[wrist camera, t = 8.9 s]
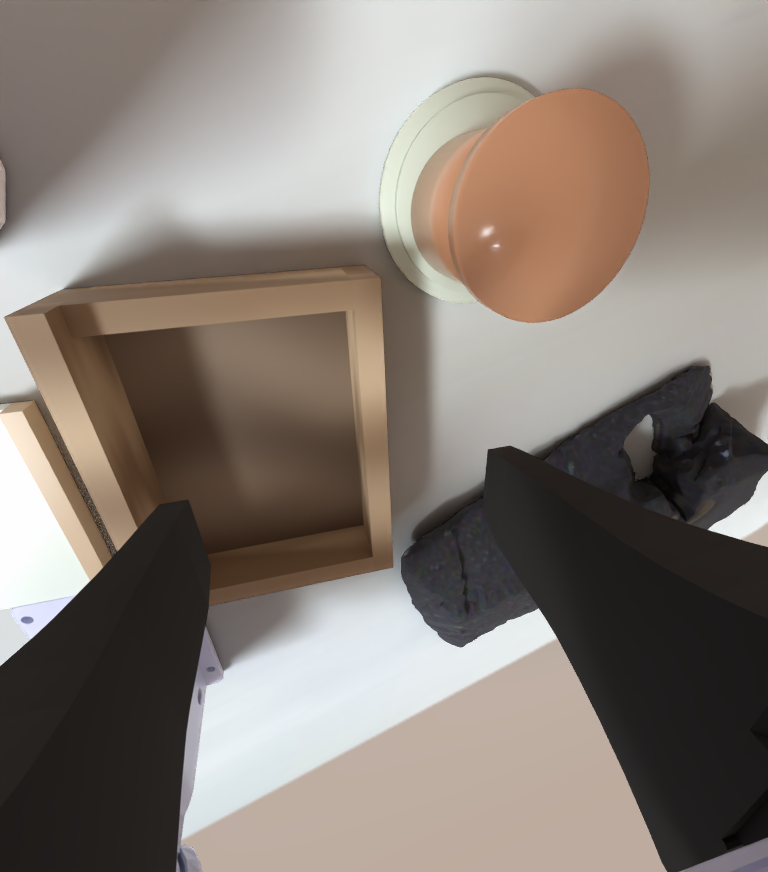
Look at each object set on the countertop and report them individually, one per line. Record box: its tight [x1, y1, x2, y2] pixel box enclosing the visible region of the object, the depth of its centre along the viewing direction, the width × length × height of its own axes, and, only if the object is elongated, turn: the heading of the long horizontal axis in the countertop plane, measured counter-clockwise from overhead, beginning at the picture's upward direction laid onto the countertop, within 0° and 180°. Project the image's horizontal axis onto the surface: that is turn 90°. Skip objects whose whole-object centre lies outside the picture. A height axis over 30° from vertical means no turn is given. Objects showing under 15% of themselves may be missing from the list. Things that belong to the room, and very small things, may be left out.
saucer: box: [379, 77, 535, 303], centre depth 17 cm, size 8×8×1 cm
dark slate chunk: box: [401, 366, 768, 647], centre depth 26 cm, size 15×22×5 cm
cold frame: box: [4, 265, 393, 606], centre depth 18 cm, size 14×11×4 cm
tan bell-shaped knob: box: [411, 88, 649, 323], centre depth 14 cm, size 6×6×6 cm
